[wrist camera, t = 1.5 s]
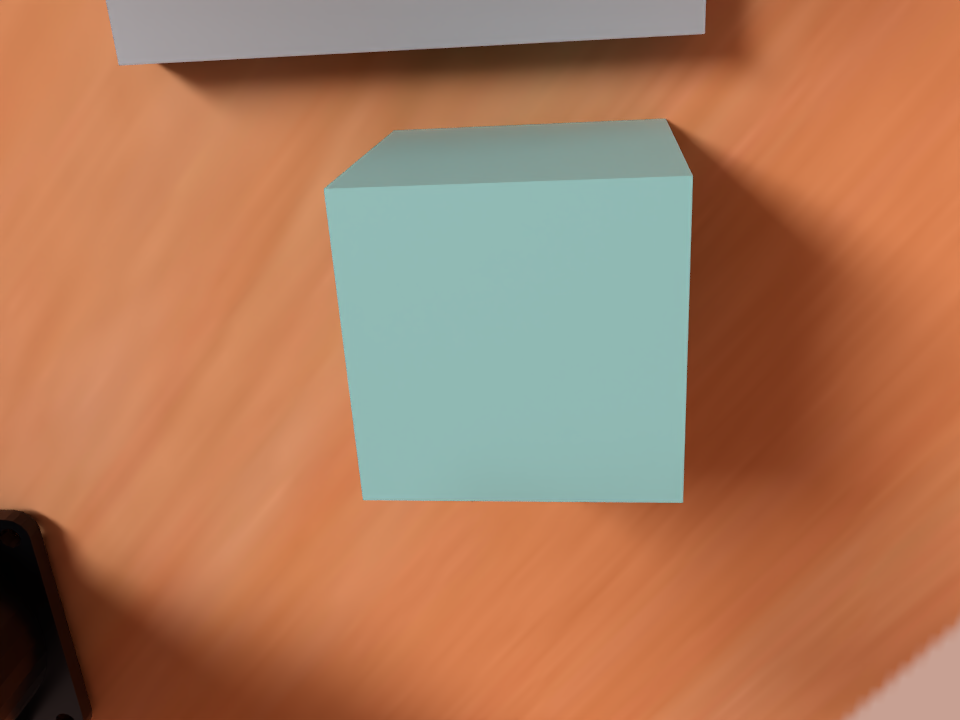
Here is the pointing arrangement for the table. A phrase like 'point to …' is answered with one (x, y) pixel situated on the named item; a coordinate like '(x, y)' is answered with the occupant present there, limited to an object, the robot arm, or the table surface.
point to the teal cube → (517, 311)
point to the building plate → (377, 25)
